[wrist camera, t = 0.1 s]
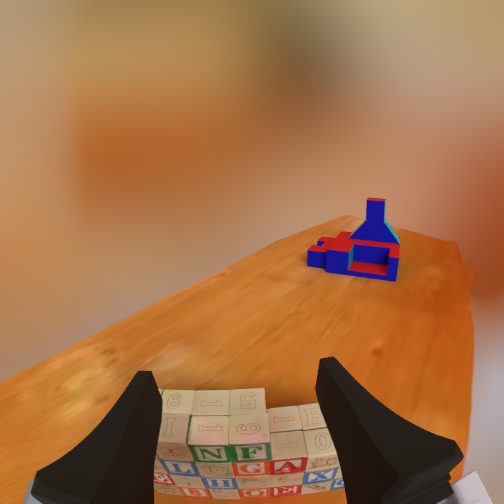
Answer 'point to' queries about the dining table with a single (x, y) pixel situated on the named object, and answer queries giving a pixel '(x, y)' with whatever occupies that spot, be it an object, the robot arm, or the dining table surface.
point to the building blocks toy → (361, 248)
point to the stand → (30, 496)
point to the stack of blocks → (242, 446)
